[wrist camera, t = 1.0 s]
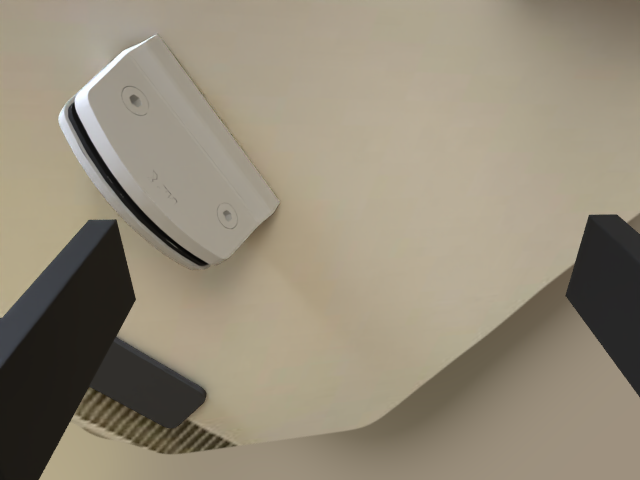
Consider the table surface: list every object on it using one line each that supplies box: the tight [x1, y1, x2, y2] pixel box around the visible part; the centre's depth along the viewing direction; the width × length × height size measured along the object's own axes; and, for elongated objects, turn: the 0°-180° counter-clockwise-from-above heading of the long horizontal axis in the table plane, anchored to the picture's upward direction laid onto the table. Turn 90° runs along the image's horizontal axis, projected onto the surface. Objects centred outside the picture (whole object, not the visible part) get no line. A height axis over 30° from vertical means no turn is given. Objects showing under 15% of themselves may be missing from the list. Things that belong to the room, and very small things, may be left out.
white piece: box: [58, 34, 280, 270], centre depth 37 cm, size 17×5×10 cm, turn 32°
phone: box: [89, 337, 206, 428], centre depth 52 cm, size 7×1×15 cm
